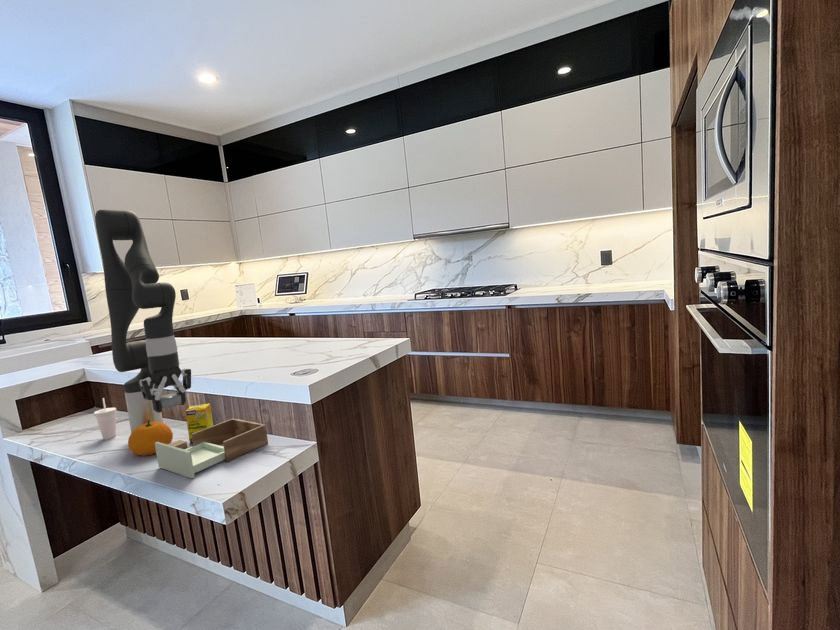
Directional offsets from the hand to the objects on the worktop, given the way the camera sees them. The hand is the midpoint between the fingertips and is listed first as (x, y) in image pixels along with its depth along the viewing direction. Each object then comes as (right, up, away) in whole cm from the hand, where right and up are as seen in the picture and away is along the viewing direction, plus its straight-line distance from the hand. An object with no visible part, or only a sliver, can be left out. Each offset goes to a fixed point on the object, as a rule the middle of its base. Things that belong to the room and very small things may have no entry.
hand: (170, 408), depth 124 cm
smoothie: (-35, -16, +24) cm, 45 cm away
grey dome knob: (0, +1, 0) cm, 1 cm away
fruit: (-10, -15, +8) cm, 20 cm away
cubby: (+16, -13, +3) cm, 21 cm away
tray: (+11, -14, -4) cm, 19 cm away
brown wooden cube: (+1, -15, +2) cm, 15 cm away
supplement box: (+2, -13, +14) cm, 19 cm away
